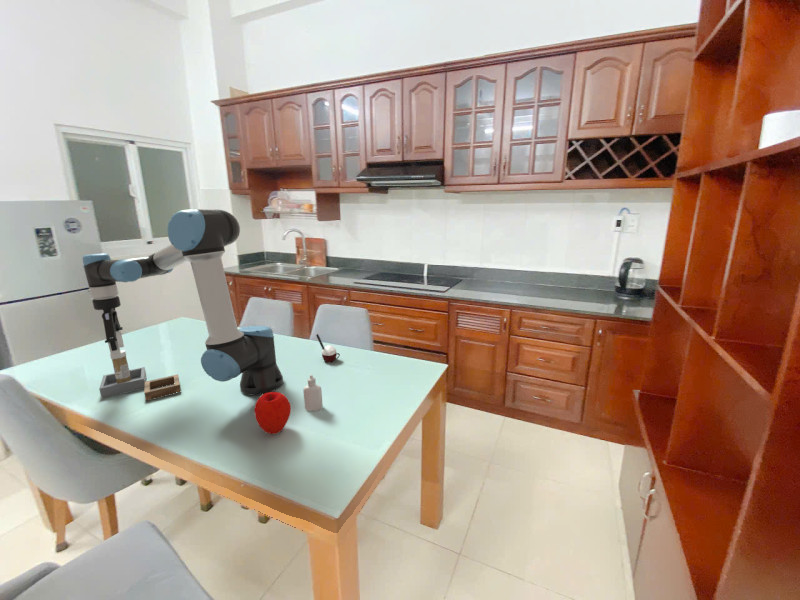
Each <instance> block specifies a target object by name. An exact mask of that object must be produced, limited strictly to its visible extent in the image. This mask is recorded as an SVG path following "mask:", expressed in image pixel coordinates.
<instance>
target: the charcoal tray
mask: <svg viewBox="0 0 800 600" xmlns="http://www.w3.org/2000/svg"><path fill="white" fill-rule="evenodd" d="M129 372H130V378H131V381H127V382H123V383H118V384H117V380H116V377H115V372H113V373H110V374H109V373H108V374H103V375H102V379H101V382H100V384H99V392H100V393H99V394H100V397H101V399H104V398H105V399H106V398H110V397H113V396H117V395H122V394H126V393H130V392H134V391H135V392H136V391H138V390H139V391H140V390H143V389H144V390H145V382H146V381H147V373H146V372H147V371H146V367H145V366H144V367H143V366H142V367H138V368H133V369H129Z"/></svg>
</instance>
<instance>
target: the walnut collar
mask: <svg viewBox="0 0 800 600" xmlns="http://www.w3.org/2000/svg"><path fill="white" fill-rule="evenodd" d="M174 383H175V384H174ZM170 384H172V385H170ZM166 385H168V386H166ZM162 386H164V387H162ZM158 387H160V388H158ZM155 388H156V389H155ZM143 391H144V397H145V401H147V400H148V401H151V400H150V399H152V400H154V398H156V399H159V398H158V397H160V398H162V397H161V396H164V397H166V396H165V395H168V396H170V395H169V394H172V395H174V394H173V393H176V392H180V391H181V392H182V388H181V382H180V377H179V374H174V375H173V374H172V375H169V376H164V377H160V378H155V379H152V380H146V382H145V388H144V390H143ZM181 392H180V393H181ZM176 394H177V393H176Z"/></svg>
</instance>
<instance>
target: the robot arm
mask: <svg viewBox="0 0 800 600" xmlns="http://www.w3.org/2000/svg"><path fill="white" fill-rule="evenodd" d="M167 223H168V224H167V228H166V229H167V233H166V234H167V238H168V240H169V242H170V245H167V246H166V247H163V248H161V249H160V250H158V251H156V252H154V253H152V254H150V255H147V256H139V257H138V256H137V257H130V258H122V259H112V258H111V256H110V255H109V254H108V253H92V254H91V253H90V254H85V255H83V256H82V266H83V270H84V273H85V276H86V281H87V285H88V287H89V288H88V289H87V292H88V293H90V296H91V298H92V301H91V302H92V305H93V309H94V310H95V311H103V312H102V314H101V319H102V321H103V326H104V333H105V340H104V343H105V344H106V343H107V344H108V349H109V354H110V353H111V357H112V359H111V361H112V360H113V359H118V358H122V356H121V352H120V350H121V348H124V347H125V343H124V338H123V334H122V331H123V327H122V326H121V325H120V321H119V319H118V318H119V317H118V312H117V311H116V309H117V308H119V307H120V306H121V300H120V297H119V296H118V295H119V291H118V287H117V283H118V282H119V283H120V282H121V283H128V282H129V283H130V282H131V283H132V282H136V281H137V280H139V279H140V280H141V279H144V278H149V277H155V276H163V275H166V274H170V273H171V272H172V271H173V270H174V269H175V268H176V267H178V266H180V265H182V264H184V263H186V262H190V266H191V271H192V273H193V279H194V281H195V282H194V283H195V286H196V290H197V293H198V297H199V301H200V306H201V309H202V314H203V317H204V322H205V325H206V330H207V333H208V337H207V338H206V339H205V341H204V344H205V347H206V350H205V351H204V352H203V354H202V355H201V357H200V364H201V366H202V369H203V371H204V372H205V373H206V375H207V376H208V377H211V378H212V379H213V380H215V381H218V382H223V383H224V382H228V381H230V380H233V379H235V378H238V377H239V376H240V375H241V377H240V382H239V387H240V392H241V393H243V394H244V395H247V396H260V395H263V394H265V393H269V392H276V390H278V389H280V388H281V387H282V386H283V385H284V378H283V377H284V376H283V374H282V372H281V370H280V367H279V366H278V364H277V357H276V347H275V336H274V331H273V328H271V327H269V326H265V325H249V326H243V327H240V328H239V329H238V325H237V324H238V323H237V320H236V317H235V312H234V308H233V303H232V298H231V295H230V290H229V286H228V282H227V278H226V277H227V276H226V273H225V268H224V264H223V261H222V256H223V255H224V253H225V252H226V250H225V247H227V246H229V245H231V244H233V243H235V242H236V241H237V240H238V238H239V236H240V232H241V227H240V224H239V223H240V222H239V221H238V219H237V218H236V217H235V216H234V215H233V214H232V213H230V212H229V211H227V210H223V209H200V208H199V209H197V208H196V209H195V208H193V209H191V208H190V209H183V210H179V211H177V212H175V213H174V214H173V215H172V216H171V217H170V219H169V221H168V222H167ZM116 282H117V283H116ZM111 357H110V358H111Z"/></svg>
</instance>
